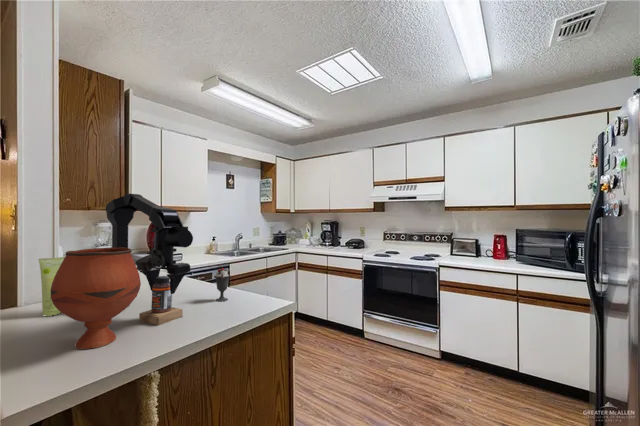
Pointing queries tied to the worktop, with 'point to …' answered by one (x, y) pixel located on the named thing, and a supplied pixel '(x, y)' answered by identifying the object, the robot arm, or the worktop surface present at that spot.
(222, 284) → the sundae
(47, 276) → the tube
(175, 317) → the pedestal
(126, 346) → the worktop surface
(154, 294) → the supplement bottle
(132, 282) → the goblet
